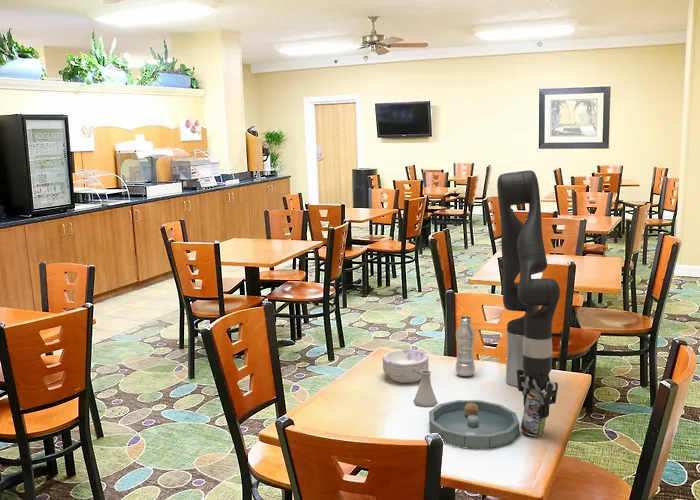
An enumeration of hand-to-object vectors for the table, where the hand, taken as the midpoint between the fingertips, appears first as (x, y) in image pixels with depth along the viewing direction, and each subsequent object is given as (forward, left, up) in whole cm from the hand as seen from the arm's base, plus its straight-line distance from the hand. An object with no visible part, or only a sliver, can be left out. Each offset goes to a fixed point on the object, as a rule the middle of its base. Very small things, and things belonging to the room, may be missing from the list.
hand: (535, 412), depth 181 cm
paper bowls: (+10, -53, -6) cm, 55 cm away
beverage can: (0, 0, -6) cm, 6 cm away
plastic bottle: (-9, -46, -6) cm, 48 cm away
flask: (+15, -32, -6) cm, 36 cm away
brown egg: (+10, -16, -5) cm, 19 cm away
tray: (+13, -10, -6) cm, 18 cm away
